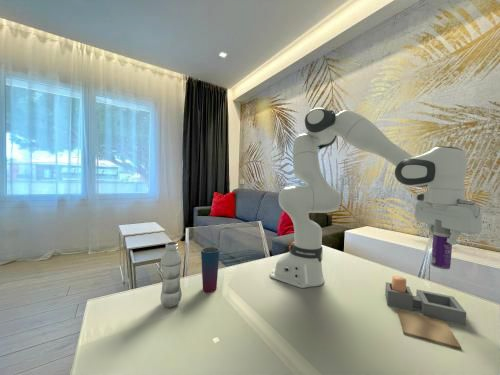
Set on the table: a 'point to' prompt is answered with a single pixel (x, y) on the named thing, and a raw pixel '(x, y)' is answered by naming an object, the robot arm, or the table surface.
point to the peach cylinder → (399, 284)
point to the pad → (427, 328)
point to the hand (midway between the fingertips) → (442, 241)
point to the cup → (210, 268)
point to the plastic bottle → (171, 275)
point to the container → (441, 247)
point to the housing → (427, 304)
